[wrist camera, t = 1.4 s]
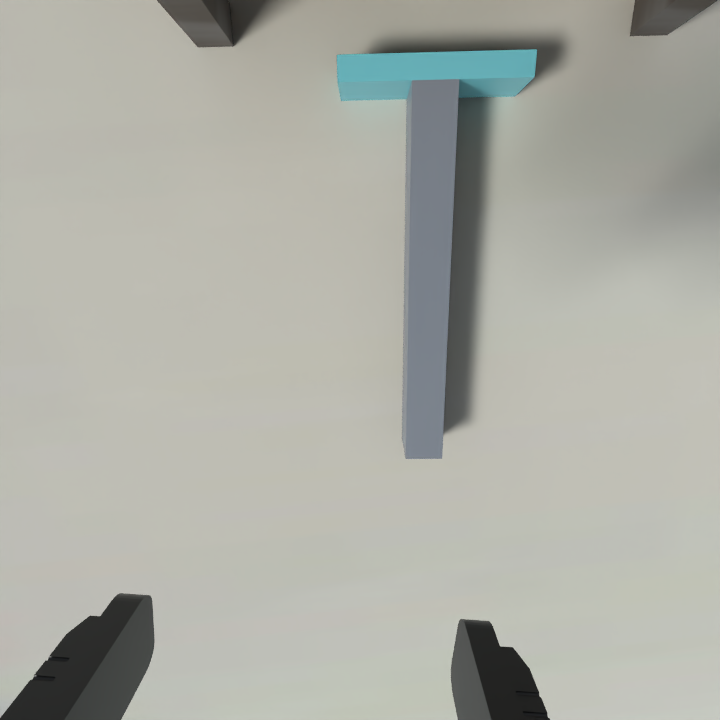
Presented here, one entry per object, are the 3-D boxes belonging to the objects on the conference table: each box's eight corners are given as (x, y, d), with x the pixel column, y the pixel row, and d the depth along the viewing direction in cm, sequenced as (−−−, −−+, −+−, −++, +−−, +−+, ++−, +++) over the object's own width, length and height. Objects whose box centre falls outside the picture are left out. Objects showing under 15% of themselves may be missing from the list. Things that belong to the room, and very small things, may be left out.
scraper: (340, 77, 23) (336, 54, 20) (515, 73, 23) (537, 49, 20) (350, 438, 30) (348, 459, 27) (486, 436, 29) (499, 458, 27)
